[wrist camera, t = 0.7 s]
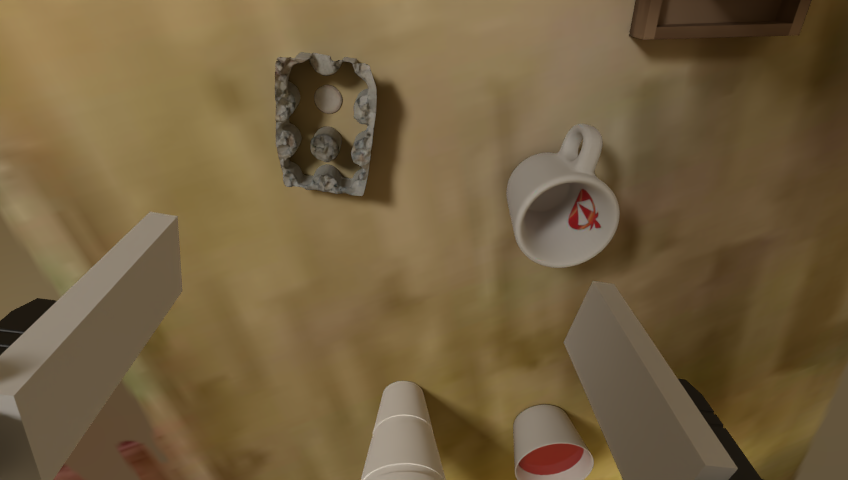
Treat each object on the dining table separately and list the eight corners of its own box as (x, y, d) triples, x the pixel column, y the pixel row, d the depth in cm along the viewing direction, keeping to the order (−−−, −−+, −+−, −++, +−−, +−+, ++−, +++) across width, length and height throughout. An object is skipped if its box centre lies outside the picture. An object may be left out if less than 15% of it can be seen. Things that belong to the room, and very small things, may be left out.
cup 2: (431, 431, 58) (442, 598, 43) (348, 416, 56) (328, 586, 41) (460, 372, 53) (484, 537, 38) (370, 354, 51) (357, 520, 36)
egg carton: (284, 43, 35) (271, 50, 32) (382, 60, 36) (380, 69, 33) (282, 172, 41) (270, 191, 37) (367, 184, 41) (364, 204, 38)
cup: (526, 97, 38) (554, 126, 31) (614, 121, 39) (659, 153, 32) (485, 212, 43) (500, 258, 36) (563, 229, 44) (593, 277, 37)
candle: (524, 390, 55) (537, 436, 50) (589, 406, 57) (608, 451, 52) (492, 436, 60) (502, 484, 54) (554, 450, 61) (569, 497, 56)
